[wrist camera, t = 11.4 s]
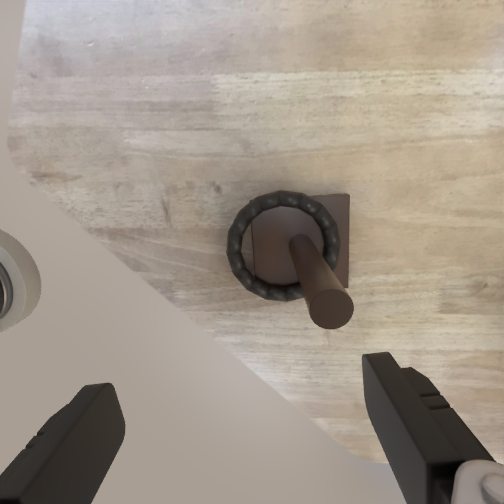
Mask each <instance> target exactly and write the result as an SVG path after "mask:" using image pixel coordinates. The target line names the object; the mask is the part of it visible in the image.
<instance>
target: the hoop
mask: <svg viewBox="0 0 504 504" xmlns="http://www.w3.org/2000/svg"><path fill="white" fill-rule="evenodd" d="M280 206H283V207H291V208H298V209H300V210H302V211H303V212H305V213H307V214H309V215H310V216H312V217H313V218H314V220H315V221H316V222H317V224H318V225H319V226H320V228H321V229H322V232H323V236H324V240H325V245H326V246H325V252H324V257H323V258H324V259H325V261H326V262H327V264H328V265H329V267H330V268H331V270H332V271H333V272H334V270H335V269H336V267H337V264H338V259H339V254H340V249H341V242H340V237H339V232H338V228H337V224H336V222H335V220H334V219H333V218H332V216H331V215H330V214H329V212H328V211H327V210H326V208H325V207H324V206H323V205H322V204H321V203H319V202H317V201H316V200H314V199H312V198H310V197H309V196H307V195H305V194H303V193H296V192H288V191H276V192H273V193H269V194H266V195H262V196H259V197H257V198H255V199H254V200H253V201H251V202H250V203H249V204H248V205H246V206H245V207H244V208H243V209H241V210H240V211H239V213H238V214H237V216H236V218H235V220H234V222H233V224H232V225H231V227H230V229H229V231H228V241H227V251H226V253H227V256H228V260H229V263H230V266H231V269H232V272H233V274H234V275H235V276H236V278H237V279H238V280H239V281H240V282H241V284H242V285H243V286H244V287H245V288H246V289H247V290H249V291H250V292H252V293H254V294H256V295H258V296H260V297H262V298H264V299H266V300H275V301H283V302H288V301H292V300H296V299H300V298H304V295H303V292H302V289H301V285H300V284H297V285H293V286H289V287H277V286H269V285H267V284H265V283H264V282H262V281H260V280H258V279H256V278H255V277H254V276H253V275H252V273H251V272H250V271H249V270H248V269H247V267H246V266H245V263H244V259H243V256H242V253H241V247H242V238H243V234H244V233H245V231H246V229H247V227H248V225H249V224H250V222H251V221H252V220H253V219H254V218H256V217H257V216H258V215H260V214H261V213H262V212H263V211H266V210H269V209H273V208H276V207H280Z"/></svg>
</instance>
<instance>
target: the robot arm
mask: <svg viewBox="0 0 504 504" xmlns="http://www.w3.org/2000/svg"><path fill="white" fill-rule="evenodd" d="M12 301H13V286H12V282H11V279H10V277H9V274H8V272H7V271H6V269H5V268H4V266H3V265H2V263H1V262H0V319H2V318H3V317H4V316H5V315H6V314H7V312H8V311H9V309H10V307H11V305H12ZM362 369H363V384H364V397H365V403H366V408H367V412H368V415H369V418H370V420H371V423H372V425H373V427H374V430H375V432H376V434H377V436H378V439H379V441H380V443H381V446H382V448H383V450H384V452H385V455H386V457H387V459H388V462H389V464H390V466H391V468H392V471H393V473H394V475H395V477H396V480H397V482H398V484H399V487H400V489H401V491H402V493H403V496H404V498H405V500H406V503H407V504H504V465H503V464H500V463H497V462H496V461H495V460H494V459H493V458H492V456H491V455H490V454H489V453H488V451H487V450H486V449H485V448H484V447H483V445H482V444H481V443H480V442H479V440H478V439H477V438H476V437H475V435H474V434H473V433H472V432H471V430H470V429H469V428H468V427H467V426H466V424H465V423H464V422H463V421H462V419H461V418H460V417H459V416H458V414H457V413H456V412H455V411H454V409H453V408H451V407H450V405H449V403H448V402H447V401H446V400H445V398H444V397H443V396H442V395H440V392H439V391H438V390H437V388H436V387H435V386H434V385H433V383H432V382H431V381H430V380H429V379H428V378H427V377H426V376H424V375H423V374H421V373H419V372H418V371H416V370H415V369H413V368H412V367H408V368H400V367H399V365H398V364H397V362H396V361H395V359H394V358H393V357H392V355H391V354H390V353H389V352H380V353H371V354H363V355H362ZM124 435H125V421H124V417H123V414H122V411H121V407H120V405H119V401H118V398H117V395H116V392H115V388H114V386H113V385H112V384H111V383H102V384H93V385H86V386H84V387H83V388H82V389H81V390H80V391H79V392H78V393H77V395H76V396H75V397H74V398H73V400H72V401H71V402H70V403H69V404H67V405H66V406H64V407H63V408H62V409H61V410H59V411H58V412H57V413H56V414H54V415H53V416H52V417H50V419H49V420H48V421H47V422H46V423H45V424H44V425H43V427H42V428H41V429H40V430H39V431H38V432H37V436H34V437H33V438H32V439H31V440H30V442H29V443H28V444H27V445H26V448H25V449H24V450H22V451H21V452H20V453H19V454H18V456H17V457H16V458H15V459H14V460H13V461H12V463H11V464H10V465H9V466H8V467H7V468H6V469H5V471H4V472H3V473H2V474H1V475H0V504H91V503H92V501H93V499H94V496H95V495H96V493H97V491H98V489H99V487H100V485H101V483H102V481H103V479H104V477H105V475H106V474H107V471H108V470H109V468H110V466H111V464H112V462H113V460H114V458H115V456H116V454H117V452H118V450H119V448H120V446H121V444H122V442H123V439H124Z"/></svg>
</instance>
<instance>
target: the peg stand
mask: <svg viewBox="0 0 504 504" xmlns="http://www.w3.org/2000/svg"><path fill="white" fill-rule="evenodd" d="M309 197H310V198H312V199H314V200H316V201H317V202H319V203H321V204H322V205H323V206H324V207H325V208H326V210H327V211H328V212H329V214H330V215H331V216H332V218H333V219H334V220H335V222H336V224H337V228H338V232H339V237H340V242H341V249H340V254H339V259H338V264H337V267H336V269H335V270H334V272H333V271H332V270H331V268H330V267H329V265H328V264H327V262H326V261H325V259H324V258H323V257H324V252H325V246H326V245H325V240H324V236H323V232H322V229H321V228H320V226H319V225H318V224H317V222H316V221H315V220H314V218H313V217H312V216H310V215H309V214H307V213H305V212H303V211H302V210H300V209H298V208H291V207H283V206H280V207H276V208H273V209H269V210H266V211H263V212H262V213H261V214H260V215H258V216H257V217H256V218H254V219H253V220H252V221H251V227H252V241H253V256H254V270H255V278H256V279H258V280H260V281H262V282H264V283H265V284H267V285H269V286H277V287H289V286H293V285H297V284H300V285H301V289H302V292H303V295H304V298H305V301H306V304H307V308H308V311H309V314H310V317H311V319H312V320H313V322H314V323H315V324H316V325H318V326H319V327H322V328H324V329H337V328H340V327H342V326H344V325H345V324H346V323H347V322H348V321H349V320H350V319H351V317H352V315H353V311H354V305H353V302H352V299H351V298H350V296H349V295H348V293H347V292H346V290H345V289H344V288H348V274H349V205H350V195H349V194H332V195H317V196H309ZM251 201H253V200H250V202H251Z"/></svg>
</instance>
